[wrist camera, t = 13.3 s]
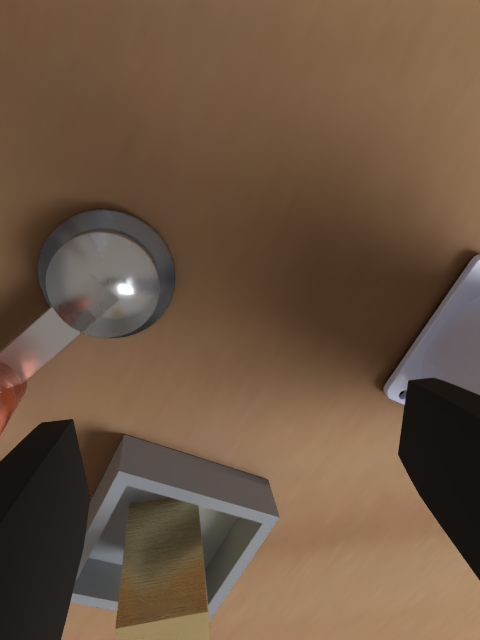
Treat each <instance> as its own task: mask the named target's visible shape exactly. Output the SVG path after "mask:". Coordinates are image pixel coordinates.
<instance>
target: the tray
mask: <svg viewBox="0 0 480 640" xmlns="http://www.w3.org/2000/svg"><path fill="white" fill-rule="evenodd" d="M164 498H174V499H177V500H181V501H184V502H188V503H191V504H195V505H199V513H200V523H201V533H202V542H203V554H204V565H205V576H206V588H207V599H208V610H209V621H210V619H211V618H212V616H213V615H214V613H215V612H216V611H217V609H218V608H219V606H220V605H221V603H222V602H223V600H224V599H225V597H226V596H227V594H228V593H229V591H230V590H231V588H232V587H233V585H234V584H235V582H236V581H237V580H238V578H239V577H240V575H241V574H242V572H243V571H244V569H245V568H246V566H247V565H248V563H249V562H250V560H251V559H252V557H253V556H254V554H255V553H256V551H257V550H258V549H259V547H260V546H261V544H262V543H263V541H264V540H265V538H266V537H267V535H268V534H269V532H270V531H271V529H272V528H273V526H274V525H275V523H276V522H277V520H278V519H279V518H280V517H279V514H278V511H277V507H276V504H275V501H274V497H273V494H272V491H271V487H270V484H269V481H268V480H267V479H264V478H261V477H257V476H254V475H251V474H248V473H245V472H242V471H239V470H235V469H232V468H229V467H226V466H223V465H220V464H216V463H213V462H210V461H207V460H204V459H201V458H198V457H194V456H191V455H188V454H185V453H182V452H179V451H175V450H172V449H169V448H166V447H163V446H160V445H157V444H153V443H150V442H147V441H144V440H141V439H138V438H135V437H131V436H128V435H125V434H124V436H123V438H122V440H121V442H120V444H119V446H118V448H117V450H116V452H115V454H114V456H113V458H112V460H111V462H110V464H109V466H108V468H107V469H106V471H105V473H104V475H103V477H102V479H101V481H100V483H99V485H98V487H97V489H96V491H95V493H94V495H93V497H92V499H91V501H90V503H89V511H88V519H87V527H86V535H85V542H84V548H83V553H82V557H81V561H80V565H79V569H78V573H77V577H76V581H75V585H74V590H73V593H72V597H71V601H70V602H71V603H77V604H82V605H88V606H93V607H98V608H104V609H109V610H115V611H117V609H118V600H119V591H120V582H121V572H122V563H123V554H124V544H125V535H126V526H127V516H128V507H129V504H130V503H137V502H144V501H150V500H157V499H164Z"/></svg>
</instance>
